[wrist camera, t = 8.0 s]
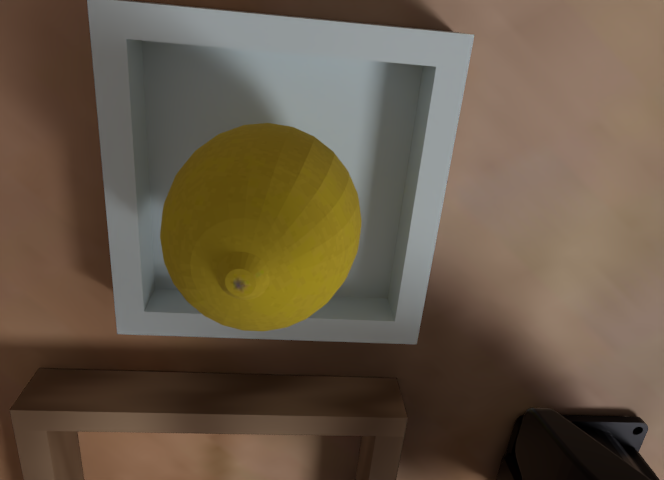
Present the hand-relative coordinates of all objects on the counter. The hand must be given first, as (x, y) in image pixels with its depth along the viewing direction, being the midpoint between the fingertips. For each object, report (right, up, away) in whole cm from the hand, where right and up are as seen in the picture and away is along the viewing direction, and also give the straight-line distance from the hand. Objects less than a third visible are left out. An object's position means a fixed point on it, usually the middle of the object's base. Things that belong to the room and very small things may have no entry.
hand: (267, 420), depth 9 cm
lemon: (-1, +5, +10) cm, 12 cm away
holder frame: (-4, -7, +16) cm, 18 cm away
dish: (-1, +5, +11) cm, 12 cm away
